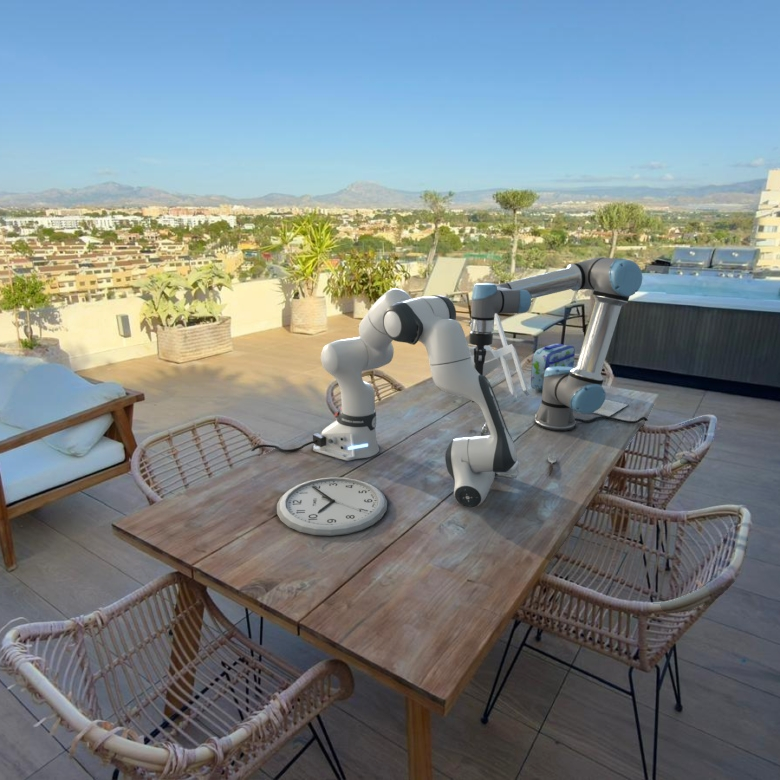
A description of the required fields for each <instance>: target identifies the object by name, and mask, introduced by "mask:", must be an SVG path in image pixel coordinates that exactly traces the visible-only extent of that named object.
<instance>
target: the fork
mask: <svg viewBox="0 0 780 780" xmlns="http://www.w3.org/2000/svg"><path fill="white" fill-rule="evenodd" d="M557 458H558V452H556V454H555V451H554V452H553V454H551V453H549V454H548V460H547V461H548V462H549V463H550V465H549V467H548V472H549V473H548V474H549V477H551V474H552V472H553V469H554V465H553V464H554V463H556V462H557Z"/></svg>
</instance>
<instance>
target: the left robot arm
mask: <svg viewBox="0 0 780 780" xmlns="http://www.w3.org/2000/svg"><path fill="white" fill-rule="evenodd" d="M456 319H457V310H456V306H455V305H454V303H453V300H451V299H450V298H448V297H447V296H444V295H438V294H437V295H436V294H433V295H428V296H418V297H415V298H412V297H411V296H410V294H409V293H408V292H406V291H405V290H403V289H400V288H391V289H389V290H387V291H386V292H385V293H383V294H382V295H381V296H380V297H379V298H378V299H377V300H376V301H375V302H374V303H373V304H372V305H371V306H370V308H369V310H368V311H367V312H366V313H365V315H364V316H363V318H362V319H361V321H359V324H358V335H359V336H356V337H350V338H344V339H343V338H342V339H337V340H334V341H331V342H329V343H327V344H325V345H324V346H323V347H322V350H321V353H320V363H321V365H322V367H323V369H324V370H325V371H326V372H327V373H328V374H330V375H331V376H332V377H333V378H334V379H335V381H336V382H337V384H338V386H339V390H340V391H339V392H340V402H341V407H340V409H339V410H337V411H336V413H334V418H336V419H335V420H334V421H333V422H331V423H330V424H328V425H327V426H325V428H323V429H322V431H321V433H319V432H318V433H317V432H316V433H314V434H312V440H310V441H309V442H306V443H304V444H302V445H301V446H299V447H296V448H295V447H294V448H291V449H287V448H286V449H285V448H281V447H279V446H277V445H273V444H259V445H256V446H254V447H252V449H250V451H251V452H254V451H256V450H257V449H259V448H273V449H277V450H278V451H279V452H283V453H291V452H297V451H300V450H302V449H303V448H305V447H307V446H309V445H312V444H313V448H312V450H313V452H315V453H319V454H322V455H325V456H329V457H333V458H335V459H339V460H343V461H347V462H351V461H353V460H359V459H367V458H371V457H374V456H375V455H377V454H378V453H379V452H380V447H379V444H378V438H377V431H376V427H377V411H376V390H375V388H374V387H373V386H372V384H371V383H369V382H367V381H366V380H363V375H362V373H363V372H365V371H370V370H376V369H379V368H381V367H385V366H386V365H388V364H390V363H391V362H392V360H393V358H394V353H395V351H394V344H393V343H392V342H393V341H395V342H399V343H406V344H409V345H413V346H415V345H416V344H417V343H418V342H420V343H421V344H423V346H424V347H425V349H426V353H427V360H428V365H429V370H430V374H431V378H432V381H433V383H434V385H435V386H436V387H437V388H438V389H439V390H440V391H442V392H444V393H446V394H448V395H451V396H456V397H460V398H465V399H467V400H470V401H471V402H472V401H474V402H473V403H476V404H477V405H478V406H479V408H480V409H481V412H482V414H483V418H484V419H485V422H486V423H487V425H488V428H489V431H490V435H486V436H481V435H478V436H477V435H475V436H465V437H456V438H453V439H452V440H451V441H450V442H449V444H448V445H447V447H446V451H445V458H444V459H445V460H444V461H445V467H446V469H447V472H448V474H449V475H450V478H452V480H453V481H454V488H453V496H454V499H455V501H456V502H457V503H458V504H459V505H461V506H463V507H464V508H477V507H479V506H480V505H482V503H484V501H485V500H486V498H487V497H488V495H489V492H490V490H491V487H492V485H493V482H494V481H495V478H496V479H502V480H508V481H509V480H513V479H516V478H518V475H519V470H520V461H519V460H518V459H517V457H518V454H517V447H516V445H515V442H514V440H513V439H512V436H511V434H510V431H509V430H508V427H507V425H506V421H505V419H504V416H503V414H502V410H501V407H500V406H499V403H498V400H497V396H496V395H495V392H494V389H493V387H492V385H491V383H490V381H489V379H488V378H487V377H486V376H483V375H480V374H479V373H478V372H477V370H476V369H475V367H474V366H473V363H472V361H471V356H470V351H469V347H470V346H469V344H468V343H469V342H468V341H467V337H466V333H465V331H464V329H463V326H462V324H461V323H460V322H459V321H457V320H456ZM468 346H469V347H468Z"/></svg>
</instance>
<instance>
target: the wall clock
mask: <svg viewBox="0 0 780 780" xmlns="http://www.w3.org/2000/svg"><path fill="white" fill-rule="evenodd" d="M387 509H388V500H387V498H386V496H385V494H384V493H383V492H382V491H381V490H380V489H379V488H377V487H376V486H374V485H372V484H371V483H369V482H365V481H362V480H359V479H355V478H349V477H338V476H337V477H335V476H333V477H332V476H331V477H322V478H317V479H312V480H307V481H305V482H302V483H299V484H297V485H295V486H293V487H292V488H290V489H288V490H287V491H286V492H285V493H284V494H283V495H281V496H280V498H279V499H278V502H277V503H276V515H277V517H278V518H279V520H280V521H281V522H282V523H283V524H285V525H286V526H287V527H288V528H290V529H293V530H295V531H297V532H299V533H303V534H308V535H312V536H327V537H328V536H329V537H331V536H332V537H333V536H342V535H350V534H352V533H356V532H361V531H363V530H366V529H368V528H369V527H372V526H373V525H375V524H376V523H378V522H379V521H380V520H381V519H382V518H383V517H384V516H385V514H386V512H387Z"/></svg>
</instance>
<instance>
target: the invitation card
mask: <svg viewBox="0 0 780 780" xmlns="http://www.w3.org/2000/svg"><path fill="white" fill-rule="evenodd" d="M628 406H629V404H627V403H623V402H618V401H614V400H609V399H606V398H605V401H604V403H603V405H602V406H601V407H600V408H599V409H598V410H596V411H595V412H593V413H592V414H596V415H600V416H605V417H612V416H613V415H614V414H616V413H617V412H619V411H621V410H623V409H624V408H626V407H628Z"/></svg>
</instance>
